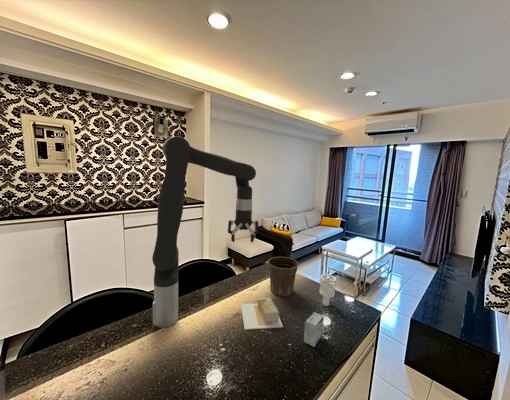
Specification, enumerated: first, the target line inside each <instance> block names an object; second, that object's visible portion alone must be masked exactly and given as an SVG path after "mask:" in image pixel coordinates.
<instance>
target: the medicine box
mask: <svg viewBox="0 0 510 400" xmlns="http://www.w3.org/2000/svg"><path fill="white" fill-rule="evenodd" d="M324 318H325V317H324V315H322V314H321V313H317V312H314V311H313V312H312V313H311V314H310V316H309V317H308V318H307V319H306V320H305V322H304V337H303V342H304V343H305V344H307V345H310V346H311V347H314V348H315V347H316V346H317V344H318V343H319V341H320V340H321V338H322V336H323V331H324V320H325V319H324Z"/></svg>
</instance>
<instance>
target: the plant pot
mask: <svg viewBox="0 0 510 400" xmlns="http://www.w3.org/2000/svg"><path fill="white" fill-rule="evenodd" d="M267 264H268V270H269V283H270V285H269V287H270V288H269V289H270V292H271V293H272V294H274V295H276V296H281V297H289V296H291V295H292V294H293V293H294V286H295V281H296V273H297V271H298V266H299V262H298V261H297V260H295V259H294V258H291V257H286V256H274V257H270V258H269V259H268V260H267Z"/></svg>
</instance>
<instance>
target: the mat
mask: <svg viewBox="0 0 510 400" xmlns="http://www.w3.org/2000/svg"><path fill="white" fill-rule="evenodd" d="M257 303H258V302H256V303H241V304H240V308H241V313H242V314H241V315H242V320H243V326H244V327H243V328H244V331H248V330H263V329H278V328H279V329H280V328H284V324H283V323H282V321H281V318H280V316H279V319H278V321H275V322H268V323H265V322H264V320H263V317H262V315H261V313H260V311H259V308H258V306H257Z"/></svg>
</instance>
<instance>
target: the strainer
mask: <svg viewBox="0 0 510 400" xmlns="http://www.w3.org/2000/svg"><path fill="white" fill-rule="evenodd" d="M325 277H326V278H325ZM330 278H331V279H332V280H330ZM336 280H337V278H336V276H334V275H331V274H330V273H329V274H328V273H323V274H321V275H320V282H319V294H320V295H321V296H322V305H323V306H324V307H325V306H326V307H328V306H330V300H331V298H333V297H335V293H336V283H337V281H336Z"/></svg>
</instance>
